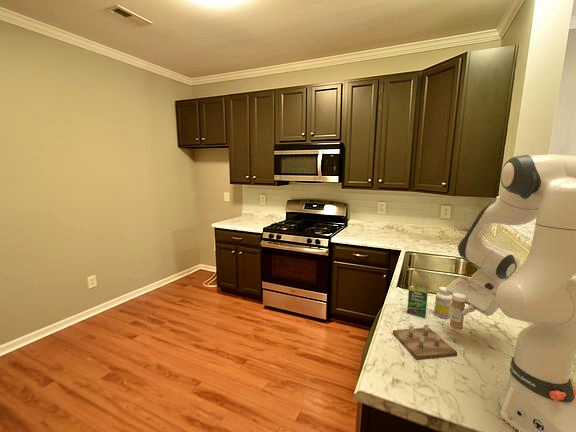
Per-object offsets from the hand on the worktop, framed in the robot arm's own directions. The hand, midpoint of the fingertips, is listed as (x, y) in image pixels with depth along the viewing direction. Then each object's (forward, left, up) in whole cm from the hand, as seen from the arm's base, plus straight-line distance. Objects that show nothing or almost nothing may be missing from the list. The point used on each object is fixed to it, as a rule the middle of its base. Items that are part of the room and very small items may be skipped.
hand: (456, 310), depth 108 cm
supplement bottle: (+18, -10, -13) cm, 25 cm away
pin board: (-1, +13, -13) cm, 18 cm away
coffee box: (+20, +2, -13) cm, 24 cm away
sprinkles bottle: (0, -1, -7) cm, 7 cm away
